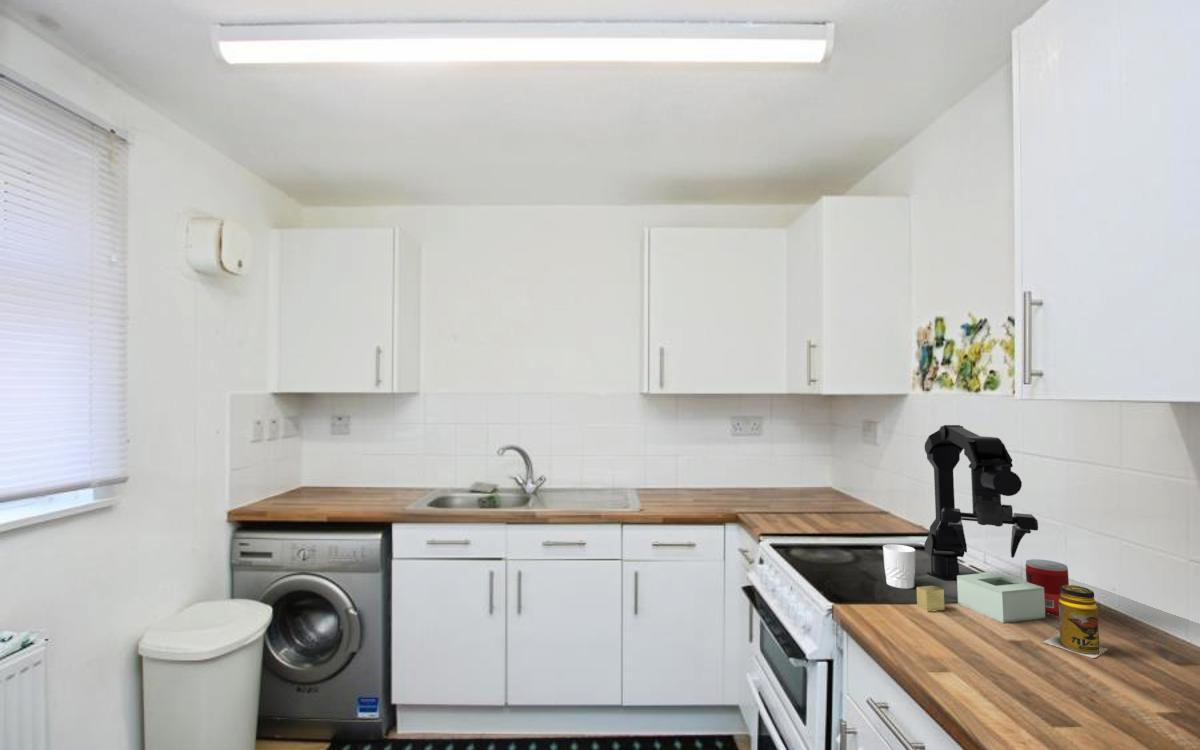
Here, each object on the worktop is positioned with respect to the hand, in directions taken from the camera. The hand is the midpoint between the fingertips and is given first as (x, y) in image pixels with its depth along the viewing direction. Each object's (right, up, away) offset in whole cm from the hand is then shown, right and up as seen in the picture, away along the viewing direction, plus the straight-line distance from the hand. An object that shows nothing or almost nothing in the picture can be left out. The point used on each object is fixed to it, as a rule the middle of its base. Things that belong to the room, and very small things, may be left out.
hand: (988, 554), depth 132 cm
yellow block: (-13, -14, +1) cm, 19 cm away
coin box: (+2, -13, -1) cm, 14 cm away
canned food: (+14, -14, 0) cm, 20 cm away
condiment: (+4, -13, -20) cm, 24 cm away
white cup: (-11, -15, +19) cm, 26 cm away
